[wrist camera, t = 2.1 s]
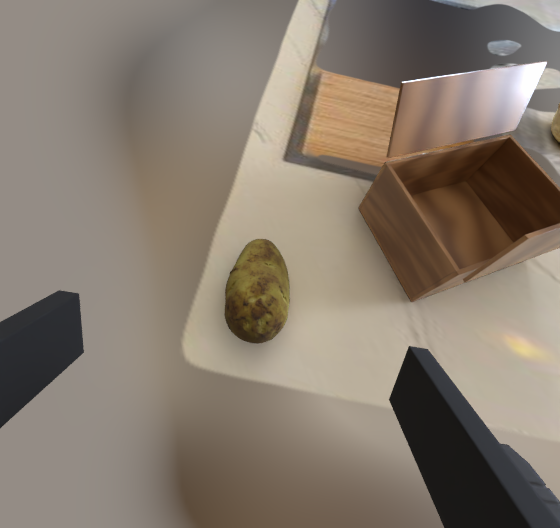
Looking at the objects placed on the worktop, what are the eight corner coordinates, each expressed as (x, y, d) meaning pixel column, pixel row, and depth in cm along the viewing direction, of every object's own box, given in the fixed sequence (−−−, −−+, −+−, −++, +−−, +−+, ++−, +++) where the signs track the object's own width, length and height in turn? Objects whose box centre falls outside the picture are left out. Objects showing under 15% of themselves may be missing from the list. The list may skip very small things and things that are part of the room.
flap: (403, 82, 29) (401, 82, 29) (388, 158, 34) (386, 157, 35) (547, 61, 34) (544, 60, 34) (515, 130, 39) (512, 129, 39)
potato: (307, 268, 38) (321, 239, 31) (269, 359, 33) (274, 349, 26) (252, 245, 39) (253, 210, 32) (205, 330, 34) (193, 312, 26)
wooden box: (414, 308, 37) (534, 246, 22) (358, 207, 44) (419, 102, 28) (530, 265, 42) (695, 188, 27) (464, 180, 48) (566, 77, 33)
